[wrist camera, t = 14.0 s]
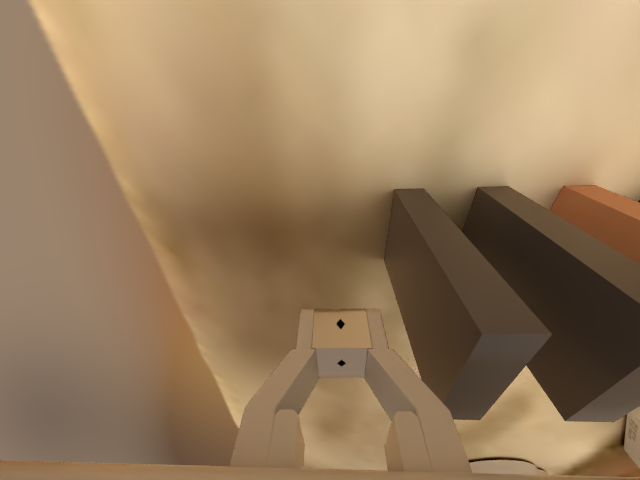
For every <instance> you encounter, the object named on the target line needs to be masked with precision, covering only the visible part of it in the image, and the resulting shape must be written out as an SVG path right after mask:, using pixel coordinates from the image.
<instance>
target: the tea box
mask: <svg viewBox="0 0 640 480" xmlns="http://www.w3.org/2000/svg"><path fill="white" fill-rule="evenodd" d="M624 450H625V451H626V452H627V454H628V455H629V456H630V457H631V458H632V460H633V461H634V462H635V463H636V465H637V466H638V467H639V468H640V406H639V407H638V408H636V409H634V410H633V411H631V412H629V413H628V414H627V422H626V431H625V441H624Z"/></svg>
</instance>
